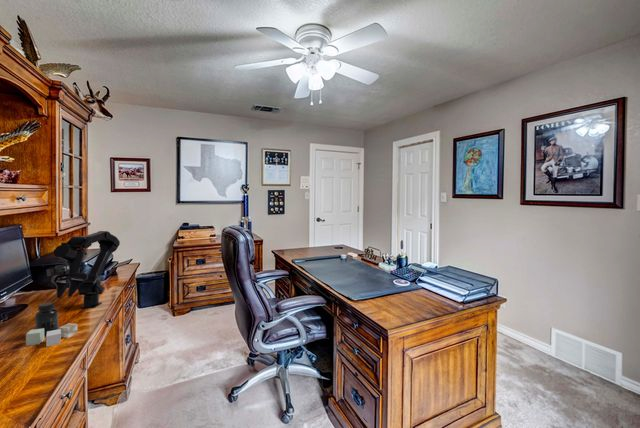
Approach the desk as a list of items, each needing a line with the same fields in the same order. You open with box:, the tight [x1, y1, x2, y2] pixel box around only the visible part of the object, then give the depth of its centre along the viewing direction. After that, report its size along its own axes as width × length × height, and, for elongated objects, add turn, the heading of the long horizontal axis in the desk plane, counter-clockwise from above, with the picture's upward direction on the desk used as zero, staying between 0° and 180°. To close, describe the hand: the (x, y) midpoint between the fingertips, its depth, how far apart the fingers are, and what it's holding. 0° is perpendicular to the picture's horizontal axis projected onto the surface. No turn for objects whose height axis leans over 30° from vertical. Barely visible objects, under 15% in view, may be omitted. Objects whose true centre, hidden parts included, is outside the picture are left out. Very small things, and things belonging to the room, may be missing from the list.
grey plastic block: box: [45, 328, 62, 348], centre depth 113 cm, size 5×4×4 cm
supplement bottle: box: [34, 301, 59, 337], centre depth 120 cm, size 7×7×12 cm
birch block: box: [58, 322, 78, 339], centre depth 119 cm, size 4×4×4 cm
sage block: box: [25, 328, 45, 347], centre depth 112 cm, size 4×4×4 cm
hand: (63, 297), depth 130 cm, fingers open, 9 cm apart
